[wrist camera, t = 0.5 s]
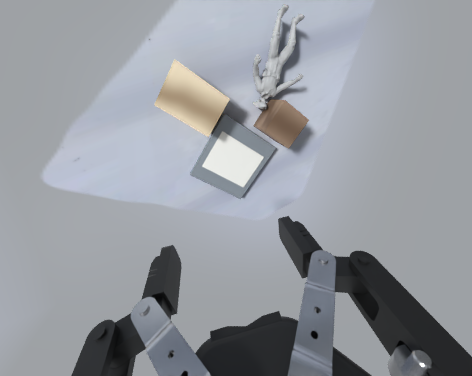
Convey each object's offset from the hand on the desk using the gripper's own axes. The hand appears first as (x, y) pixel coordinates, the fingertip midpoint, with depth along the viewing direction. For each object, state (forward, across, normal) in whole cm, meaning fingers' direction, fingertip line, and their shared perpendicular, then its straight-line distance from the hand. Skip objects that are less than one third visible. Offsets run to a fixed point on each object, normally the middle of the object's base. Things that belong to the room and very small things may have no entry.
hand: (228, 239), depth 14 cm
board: (+22, -4, +2) cm, 22 cm away
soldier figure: (+22, -15, -17) cm, 31 cm away
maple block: (+22, +1, -9) cm, 24 cm away
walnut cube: (+22, -12, -3) cm, 26 cm away
